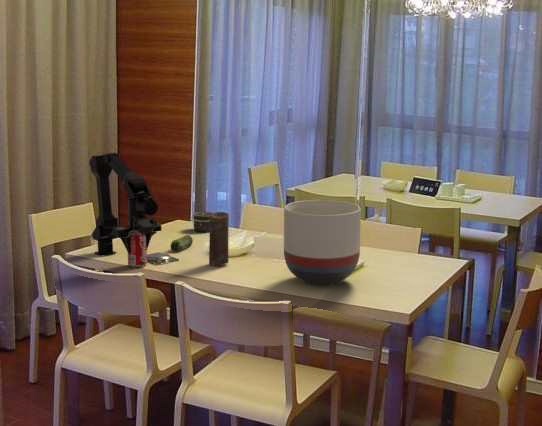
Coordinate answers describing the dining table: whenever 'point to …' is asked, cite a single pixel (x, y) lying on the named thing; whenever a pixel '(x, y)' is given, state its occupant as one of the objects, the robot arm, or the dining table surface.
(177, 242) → the vegetable
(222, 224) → the candle
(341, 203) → the planter
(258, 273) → the dining table surface
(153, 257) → the pawl stand
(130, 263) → the soda can
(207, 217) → the jar
